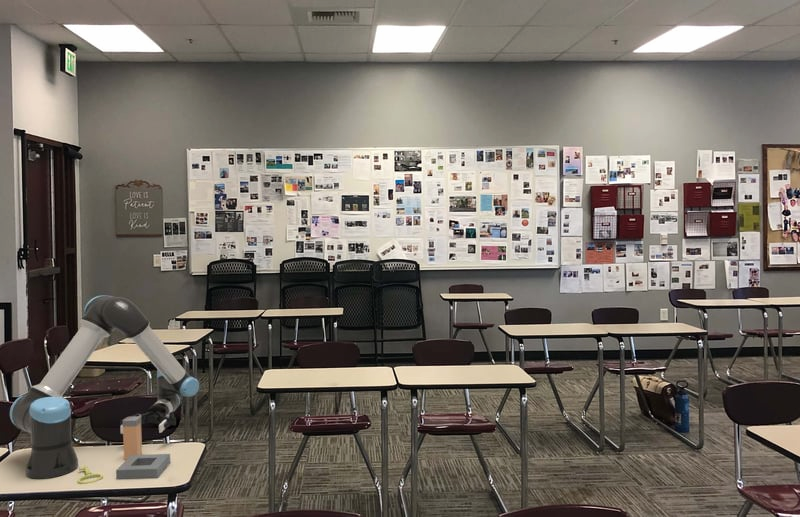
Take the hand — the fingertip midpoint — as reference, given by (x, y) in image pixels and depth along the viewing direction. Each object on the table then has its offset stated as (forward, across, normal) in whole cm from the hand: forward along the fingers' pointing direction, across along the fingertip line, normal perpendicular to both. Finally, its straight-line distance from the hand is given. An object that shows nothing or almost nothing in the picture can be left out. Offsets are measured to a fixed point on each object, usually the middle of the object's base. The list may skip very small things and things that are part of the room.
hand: (140, 429), depth 221 cm
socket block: (+19, -7, -8) cm, 21 cm away
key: (+22, +9, -9) cm, 26 cm away
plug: (+7, 0, -8) cm, 10 cm away
